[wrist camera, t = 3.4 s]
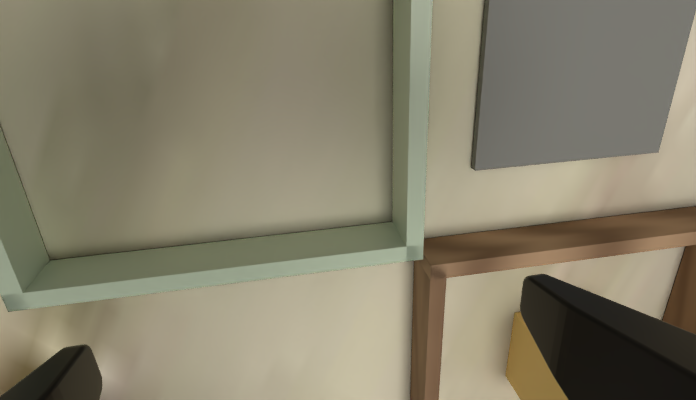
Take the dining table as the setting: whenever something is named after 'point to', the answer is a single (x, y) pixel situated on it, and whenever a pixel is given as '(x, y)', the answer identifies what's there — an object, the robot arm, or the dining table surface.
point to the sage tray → (250, 253)
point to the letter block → (529, 367)
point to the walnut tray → (533, 250)
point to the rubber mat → (576, 78)
